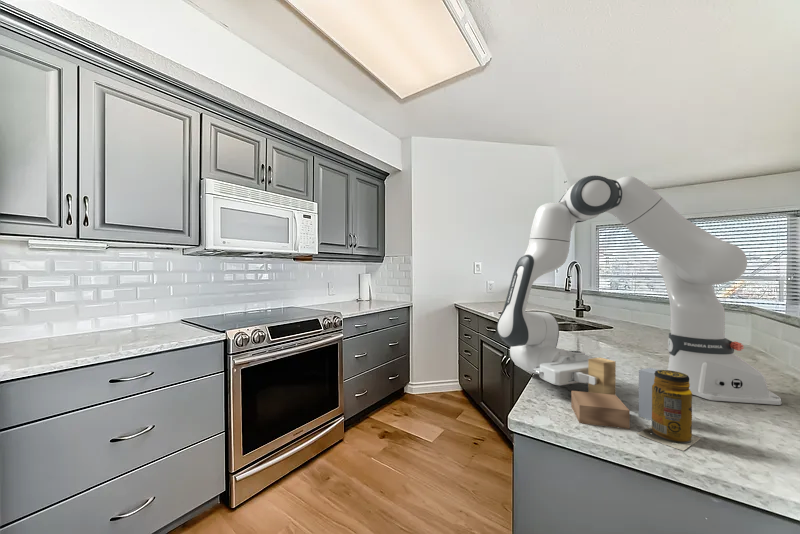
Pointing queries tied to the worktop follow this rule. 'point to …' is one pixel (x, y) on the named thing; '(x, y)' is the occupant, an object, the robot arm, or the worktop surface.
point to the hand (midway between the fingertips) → (605, 379)
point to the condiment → (671, 410)
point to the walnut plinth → (600, 409)
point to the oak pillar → (602, 375)
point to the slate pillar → (646, 392)
